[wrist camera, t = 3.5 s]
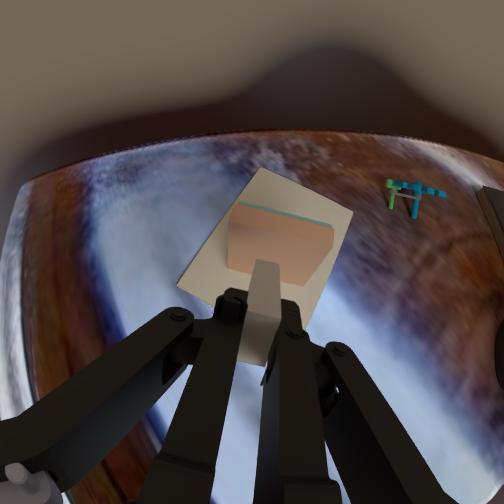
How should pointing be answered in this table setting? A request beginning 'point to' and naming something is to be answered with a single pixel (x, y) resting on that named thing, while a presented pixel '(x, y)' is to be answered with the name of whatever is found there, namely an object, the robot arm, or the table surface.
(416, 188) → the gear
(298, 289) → the felt mat
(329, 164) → the table surface
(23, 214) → the table surface
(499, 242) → the dark hardcover book
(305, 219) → the tile
